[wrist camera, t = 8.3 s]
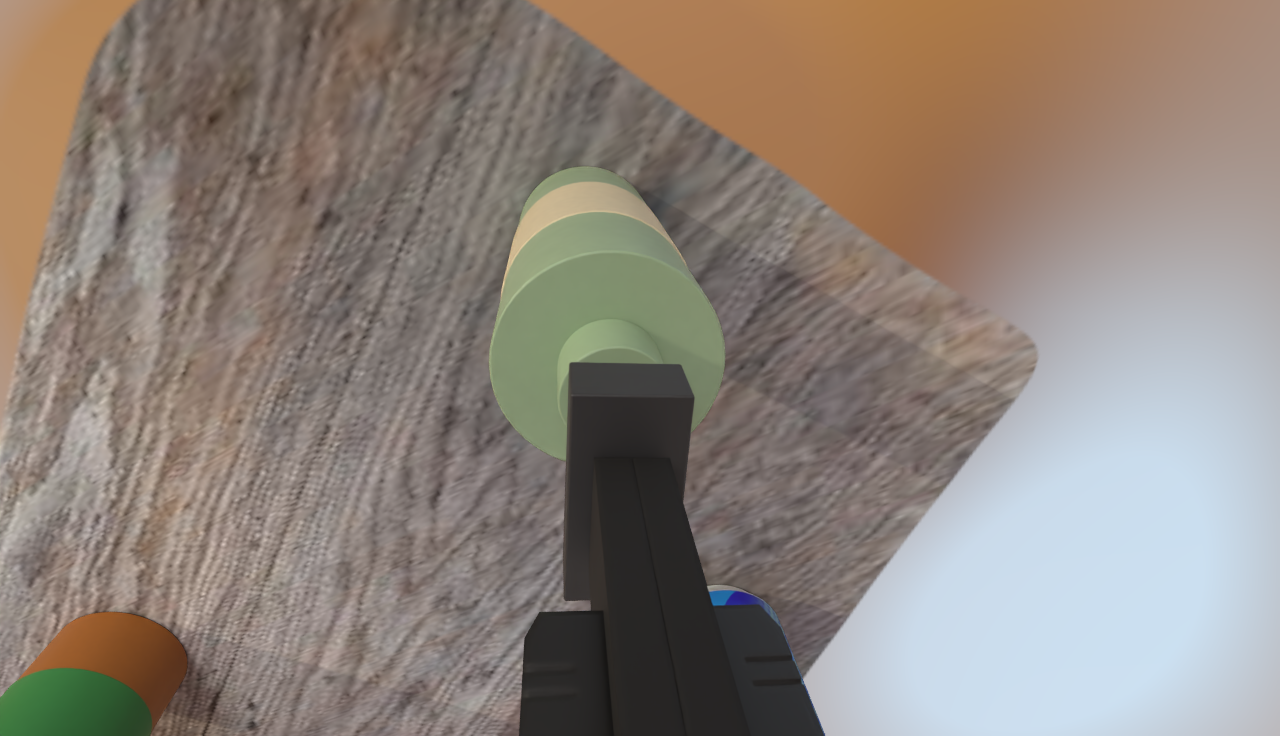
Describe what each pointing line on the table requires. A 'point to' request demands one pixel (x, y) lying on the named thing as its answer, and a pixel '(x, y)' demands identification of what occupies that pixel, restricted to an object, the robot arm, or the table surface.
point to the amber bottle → (97, 680)
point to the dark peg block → (617, 440)
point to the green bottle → (594, 302)
